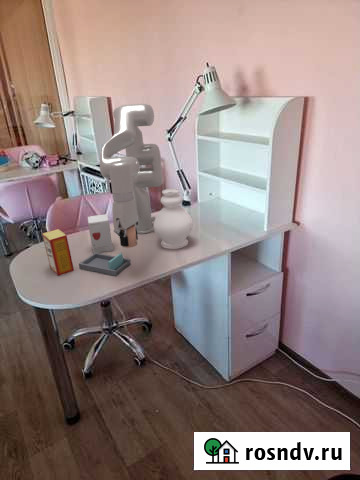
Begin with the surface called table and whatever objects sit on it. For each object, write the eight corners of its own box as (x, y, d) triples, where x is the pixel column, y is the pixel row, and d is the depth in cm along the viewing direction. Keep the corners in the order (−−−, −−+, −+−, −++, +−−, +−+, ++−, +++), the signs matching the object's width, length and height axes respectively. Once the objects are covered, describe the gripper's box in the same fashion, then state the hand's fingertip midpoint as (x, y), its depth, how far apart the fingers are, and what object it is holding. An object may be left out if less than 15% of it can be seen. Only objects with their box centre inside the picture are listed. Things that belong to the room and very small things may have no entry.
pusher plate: (121, 262, 139) (120, 253, 137) (123, 262, 139) (122, 253, 137) (109, 271, 132) (107, 262, 131) (111, 272, 132) (110, 262, 130)
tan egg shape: (127, 240, 130) (125, 224, 128) (139, 242, 128) (137, 225, 125) (119, 246, 126) (117, 229, 123) (131, 248, 124) (129, 230, 121)
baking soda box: (50, 267, 140) (41, 232, 134) (65, 262, 144) (57, 228, 137) (58, 276, 133) (49, 239, 127) (74, 270, 137) (66, 234, 130)
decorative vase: (189, 252, 146) (187, 197, 136) (150, 250, 149) (145, 196, 139) (196, 235, 162) (194, 185, 151) (160, 234, 165) (156, 185, 155)
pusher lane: (96, 257, 146) (95, 252, 145) (130, 264, 139) (129, 259, 138) (79, 268, 138) (78, 263, 137) (115, 276, 130) (114, 271, 129)
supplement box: (93, 254, 150) (87, 223, 144) (92, 246, 158) (87, 216, 152) (113, 250, 152) (108, 219, 146) (111, 243, 160) (107, 213, 154)
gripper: (128, 189, 128) (133, 233, 135) (100, 202, 114) (107, 250, 121) (145, 190, 125) (149, 235, 132) (118, 204, 111) (124, 253, 118)
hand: (129, 242), depth 127 cm, fingers closed on tan egg shape, 5 cm apart
